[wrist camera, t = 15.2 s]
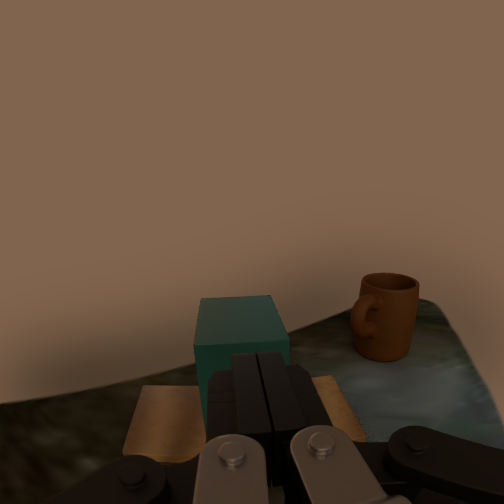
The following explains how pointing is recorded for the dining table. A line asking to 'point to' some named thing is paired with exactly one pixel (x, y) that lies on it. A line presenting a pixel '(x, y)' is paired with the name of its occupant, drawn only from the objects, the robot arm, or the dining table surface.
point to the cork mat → (192, 425)
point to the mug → (385, 316)
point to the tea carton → (235, 335)
